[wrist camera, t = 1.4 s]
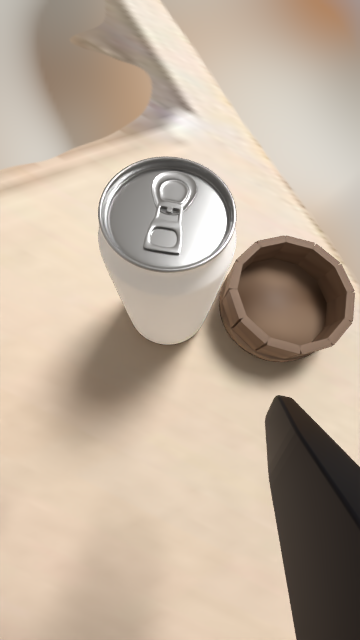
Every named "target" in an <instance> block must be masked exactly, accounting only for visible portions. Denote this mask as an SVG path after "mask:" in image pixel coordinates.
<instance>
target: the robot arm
mask: <svg viewBox="0 0 360 640" xmlns="http://www.w3.org/2000/svg"><path fill="white" fill-rule="evenodd" d="M265 429H266V444H267V460H268V473H269V482H270V488H271V494H272V500H273V506H274V511H275V517H276V523H277V529H278V535H279V541H280V546H281V552H282V558H283V564H284V570H285V575H286V581H287V587H288V593H289V599H290V604H291V610H292V616H293V622H294V628H295V633H296V639H297V640H360V467H359V466H358V465H357V464H356V463H355V462H354V461H353V460H352V459H351V458H350V457H349V456H348V455H347V454H346V453H345V452H344V450H343V449H342V448H341V447H340V446H339V445H338V444H337V443H336V442H335V441H334V440H333V439H332V438H331V437H330V436H329V435H328V434H327V433H326V432H325V431H324V430H323V429H322V428H321V427H320V426H319V425H318V424H317V423H316V422H315V421H314V420H313V419H312V418H311V417H310V416H309V415H308V414H307V413H306V412H305V411H304V410H303V409H302V408H301V407H300V406H299V405H298V404H297V403H296V402H295V401H294V400H293V399H292V398H290V397H285V396H280V395H278V396H276V397H275V398H274V400H273V402H272V404H271V406H270V408H269V410H268V412H267V415H266V418H265Z"/></svg>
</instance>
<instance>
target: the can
mask: <svg viewBox="0 0 360 640" xmlns="http://www.w3.org/2000/svg"><path fill="white" fill-rule="evenodd" d="M98 219H99V231H98V242H99V248H100V252H101V255H102V258H103V261H104V263H105V266H106V268H107V270H108V272H109V275H110V277H111V279H112V281H113V283H114V285H115V288H116V290H117V292H118V294H119V296H120V298H121V300H122V303H123V305H124V307H125V309H126V311H127V313H128V315H129V317H130V319H131V321H132V323H133V325H134V326H135V328H136V329H137V331H138V332H139V333H140V334H141V335H142V336H144V337H145V338H147V339H148V340H150V341H152V342H155V343H159V344H165V345H170V344H177V343H181V342H183V341H185V340H187V339H189V338H191V337H192V336H193V335H194V334H195V333H196V332H197V331H198V330H199V329H200V327H201V326H202V324H203V322H204V320H205V318H206V316H207V314H208V312H209V310H210V308H211V306H212V304H213V302H214V299H215V297H216V295H217V293H218V291H219V289H220V287H221V284H222V282H223V280H224V278H225V276H226V273H227V271H228V269H229V267H230V264H231V262H232V259H233V256H234V252H235V247H236V229H235V226H236V206H235V202H234V199H233V197H232V194H231V192H230V190H229V189H228V187H227V186H226V184H225V183H224V182H223V181H222V180H221V179H220V178H219V177H218V176H217V175H216V174H215V173H214V172H212V171H211V170H209V169H208V168H206V167H204V166H203V165H201V164H198V163H196V162H193V161H190V160H187V159H183V158H177V157H154V158H149V159H144V160H141V161H138V162H136V163H133V164H131V165H129V166H127V167H126V168H124V169H123V170H121V171H120V172H119V173H117V174H116V175H115V176H114V177H113V178H112V179H111V180H110V182H109V183H108V184H107V186H106V187H105V189H104V191H103V193H102V195H101V198H100V202H99V207H98Z"/></svg>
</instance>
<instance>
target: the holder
mask: <svg viewBox="0 0 360 640" xmlns="http://www.w3.org/2000/svg"><path fill="white" fill-rule="evenodd" d="M314 244H315V243H313V242H309V241H306V240H302V239H298V238H294V237H290V236H286V237H285V236H279V237H274V238H269V239H265V240H260V241H257V242H255V243H254V244H253V245H252V246H251V247H250V248H248V249H247V250H246V251H245V252H244V253H243V254H242V255H241V256H240V257H239V258H238V259H236V261H235V263H234V265H233V267H232V269H231V271H230V273H229V274H228V276H227V278H226V280H225V282H224V284H223V286H222V289H221V292H220V298H219V308H220V314H221V318H222V321H223V324H224V326H225V328H226V330H227V332H228V333H229V335H230V336H231V337H232V339H233V340H234V341H235V342H236V343H237V344H238V345H239V346H240V347H241V348H243V349H244V350H245V351H247V352H248V353H250V354H252V355H254V356H256V357H258V358H261V359H264V360H269V361H275V362H287V361H292V360H296V359H300V358H303V357H306V356H308V355H310V354H312V353H314V352H315V351H318V350H321V349H325V348H328V347H331V346H332V345H334V344H335V343H336V342H337V341H338V340H339V338H340V337H341V336H342V335H343V334H344V332H345V331H346V330H347V329H348V327H349V326H350V325H351V324H352V321H353V313H354V299H355V293H353V292H354V289H353V287H352V285H351V283H350V281H349V279H348V277H347V275H346V273H345V271H344V268H343V266H342V264H341V265H338V264H339V263H340V262H339V261H337V260H336V259H335V258H334V257H332V256H331V255H330V254H329V253H327V252H326V251H325V250H324V249H322V248H321V247H320V246H319V245H317V244H316V245H315V246H314Z"/></svg>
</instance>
